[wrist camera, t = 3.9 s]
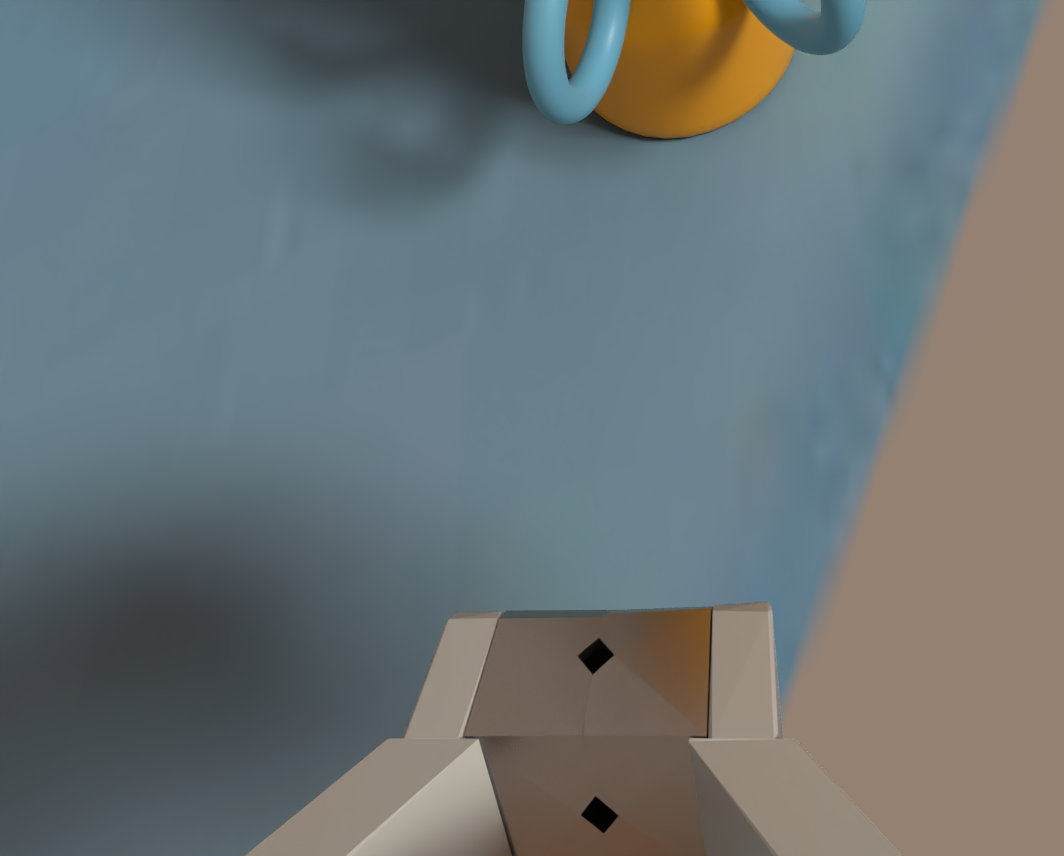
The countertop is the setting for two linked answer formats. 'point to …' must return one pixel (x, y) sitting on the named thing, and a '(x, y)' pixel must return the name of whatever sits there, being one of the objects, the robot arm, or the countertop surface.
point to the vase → (671, 57)
